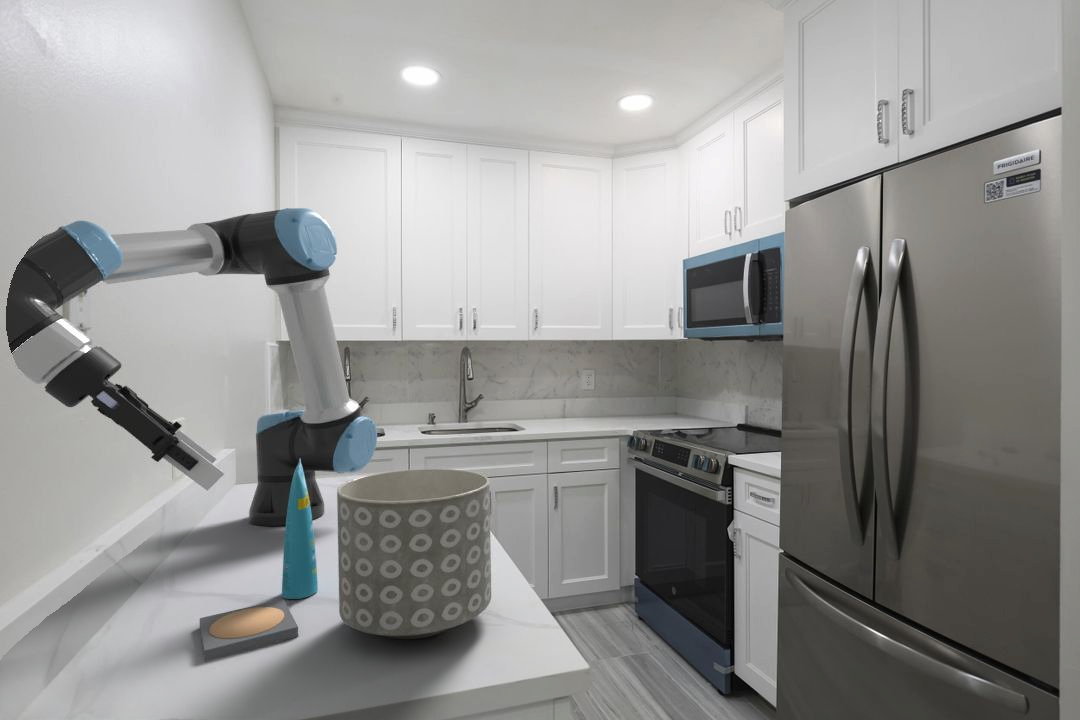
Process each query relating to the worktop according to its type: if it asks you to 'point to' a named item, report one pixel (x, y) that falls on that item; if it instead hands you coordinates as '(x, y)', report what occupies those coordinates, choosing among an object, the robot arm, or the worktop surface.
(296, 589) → the tube
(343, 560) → the planter
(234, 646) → the coaster
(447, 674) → the worktop surface
